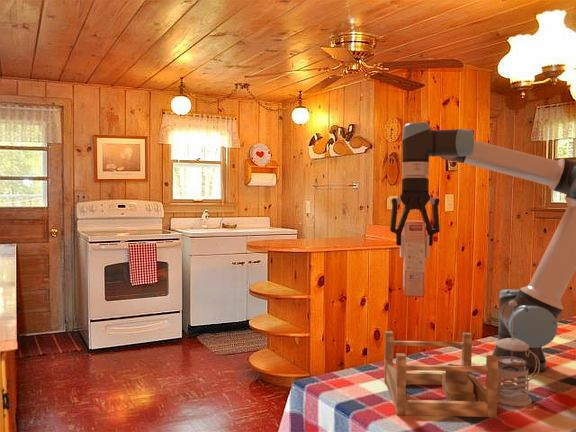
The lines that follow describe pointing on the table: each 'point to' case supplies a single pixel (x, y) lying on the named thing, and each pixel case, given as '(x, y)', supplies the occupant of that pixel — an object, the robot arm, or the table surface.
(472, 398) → the offcut
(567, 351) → the table surface
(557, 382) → the table surface
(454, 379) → the offcut
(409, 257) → the cracker box
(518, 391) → the french press
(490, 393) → the rack
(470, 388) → the offcut
